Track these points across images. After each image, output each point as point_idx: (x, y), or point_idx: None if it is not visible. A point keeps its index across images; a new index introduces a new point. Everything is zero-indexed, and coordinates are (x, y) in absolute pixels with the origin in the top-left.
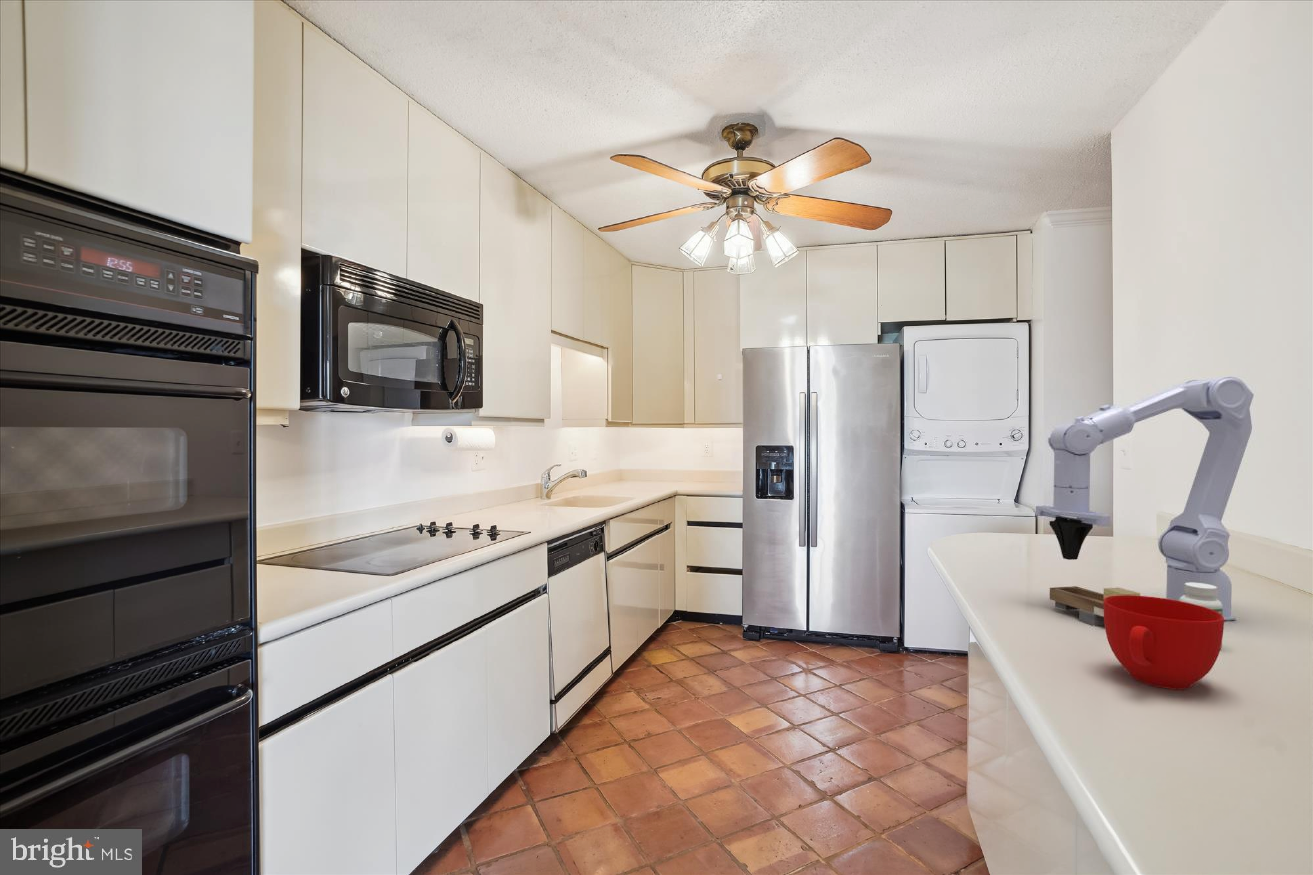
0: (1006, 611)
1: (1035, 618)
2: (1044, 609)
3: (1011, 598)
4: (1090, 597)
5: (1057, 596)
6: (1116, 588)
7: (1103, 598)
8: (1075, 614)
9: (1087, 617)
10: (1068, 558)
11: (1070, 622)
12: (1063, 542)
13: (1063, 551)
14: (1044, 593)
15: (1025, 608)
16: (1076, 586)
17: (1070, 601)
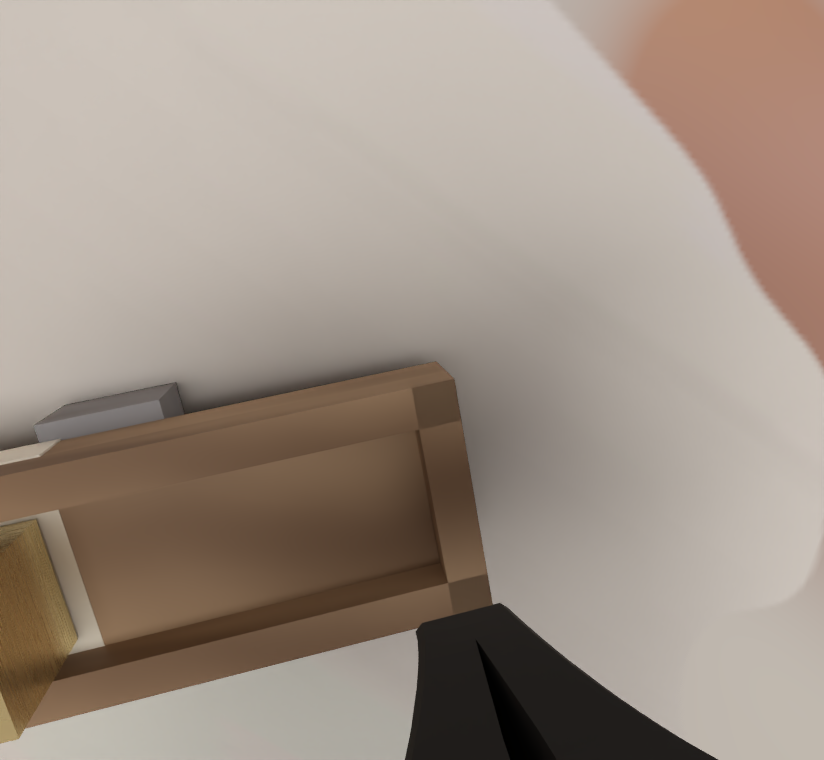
0: (388, 9)
1: (218, 115)
2: (432, 322)
3: (688, 264)
4: (316, 589)
5: (372, 384)
6: None
7: (8, 548)
8: None
9: (101, 404)
10: (422, 631)
11: (136, 302)
12: (547, 753)
13: (496, 648)
14: (766, 544)
15: (458, 206)
16: None
17: (255, 406)
